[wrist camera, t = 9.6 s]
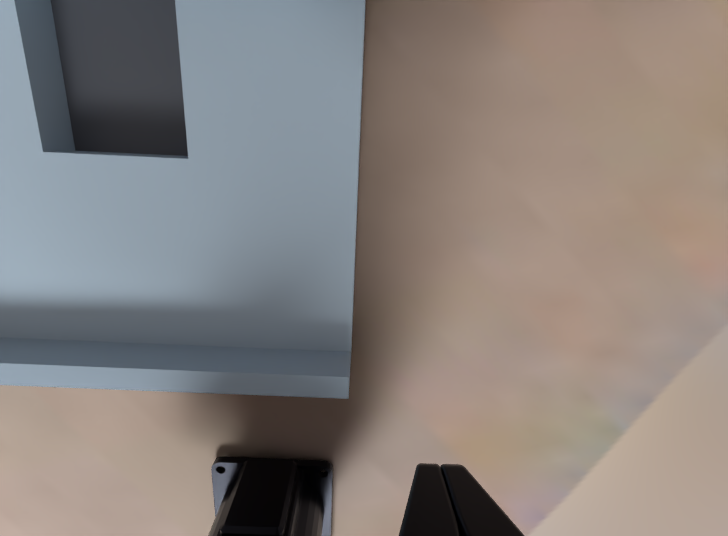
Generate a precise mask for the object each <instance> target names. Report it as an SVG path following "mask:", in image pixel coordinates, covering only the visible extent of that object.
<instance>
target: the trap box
mask: <svg viewBox="0 0 728 536" xmlns="http://www.w3.org/2000/svg"><path fill="white" fill-rule="evenodd" d="M365 6H366V0H0V385H16V386H41V387H66V388H91V389H116V390H142V391H167V392H192V393H217V394H242V395H267V396H292V397H317V398H343V399H348V397H349V381H350V365H351V349H352V324H353V300H354V275H355V251H356V226H357V202H358V177H359V153H360V128H361V104H362V79H363V55H364V30H365Z"/></svg>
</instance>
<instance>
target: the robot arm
mask: <svg viewBox="0 0 728 536" xmlns="http://www.w3.org/2000/svg"><path fill="white" fill-rule="evenodd" d="M220 466H222V467H224V468H221V467H220ZM211 470H212V482H213V493H214V505H215V516H216V518H215V520H214V523H213V525H212V528H211V530H210V533H209V535H208V536H331V519H332V483H333V467H332V465H331V463H329V462H328V461H320V460H293V459H267V458H240V457H219V458H217V459H216V460H215V461H214V463H213V465H212V469H211ZM321 470H325V472H323V471H321ZM399 536H524V535H523V534H522V532H521V531H520V530H519V529H518V528H517V527H516V525H515V524H514V523H513V522H512V521H511V520H510V519H509V517H508V516H507V515H506V514H505V513H504V512H503V511H502V509H501V508H500V507H499V506H498V505H497V504H496V502H495V501H494V500H493V499H492V498H491V497H490V496H489V494H488V493H487V492H486V491H485V490H484V489H483V488H482V486H481V485H480V484H479V483H478V482H477V481H476V479H475V478H474V477H473V476H472V475H471V474H470V473H469V471H468V470H467V469H466V468H465V467H464V466H462V465H458V464H443V465H441V466H439V465H438V464H424V463H420V464H418V465H417V467H416V471H415V475H414V479H413V483H412V486H411V490H410V494H409V498H408V502H407V506H406V510H405V514H404V518H403V521H402V525H401V529H400V533H399Z"/></svg>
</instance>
